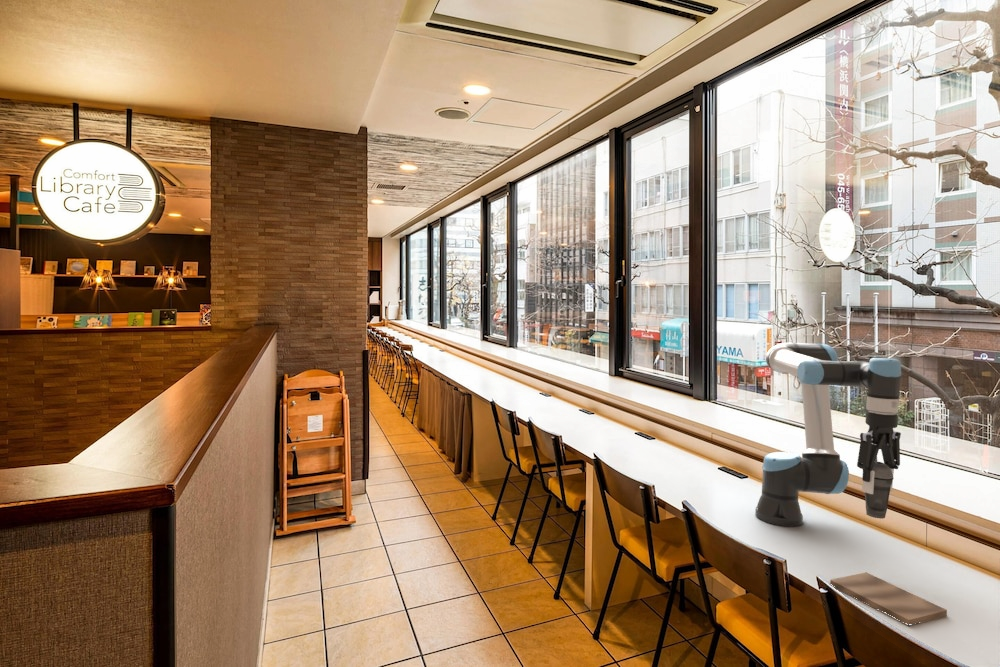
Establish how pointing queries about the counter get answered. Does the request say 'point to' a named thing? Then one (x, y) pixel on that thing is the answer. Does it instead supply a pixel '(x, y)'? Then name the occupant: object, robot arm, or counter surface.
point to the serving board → (889, 598)
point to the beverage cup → (879, 491)
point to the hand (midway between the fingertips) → (877, 491)
